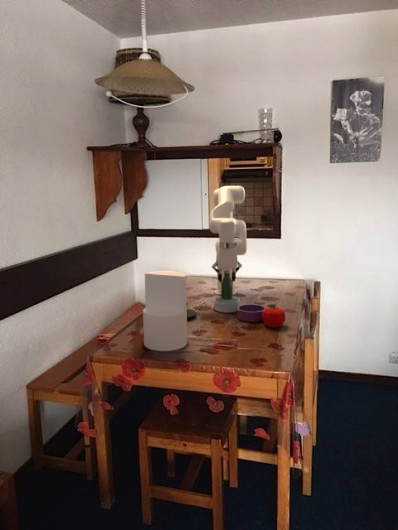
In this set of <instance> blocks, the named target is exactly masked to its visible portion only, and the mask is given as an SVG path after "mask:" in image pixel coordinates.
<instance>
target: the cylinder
mask: <svg viewBox="0 0 398 530" xmlns="http://www.w3.org/2000/svg"><path fill="white" fill-rule="evenodd" d="M144 294H145V298H144V299H145V307H144V308H143V310H142V320H143V321H142V322H143V345H144V347H145V348H147V349H149V350H151V351H156V352H170V351H176V350H181V349H183V348H184V347H186V346H187V345H188V318H187V309H188V307H187V306H188V305H187V303H188V302H187V274H186V272H184V271H178V270H154V271H149V272H148V271H147V272H144Z"/></svg>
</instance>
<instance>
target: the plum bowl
mask: <svg viewBox="0 0 398 530" xmlns="http://www.w3.org/2000/svg"><path fill="white" fill-rule="evenodd" d="M265 308H266V307H265V306H263V305H261V304H253V303H252V304H251V303H250V304H249V303H247V304H240V306H239V307H238V310H237V319H238V320H240V321H243V322H246V323H257V322H258V323H259V322H261V321H263V317H262V313H263V309H265Z"/></svg>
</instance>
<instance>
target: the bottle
mask: <svg viewBox="0 0 398 530" xmlns="http://www.w3.org/2000/svg"><path fill="white" fill-rule="evenodd" d="M220 297H221V299H223V300H231V299H233V297H234V295H233V280H231V278H230V271H228V270H225V271H224V277H223V280H222V282H221V295H220Z"/></svg>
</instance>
